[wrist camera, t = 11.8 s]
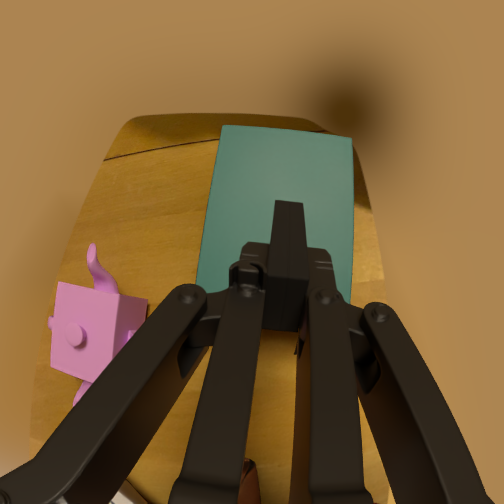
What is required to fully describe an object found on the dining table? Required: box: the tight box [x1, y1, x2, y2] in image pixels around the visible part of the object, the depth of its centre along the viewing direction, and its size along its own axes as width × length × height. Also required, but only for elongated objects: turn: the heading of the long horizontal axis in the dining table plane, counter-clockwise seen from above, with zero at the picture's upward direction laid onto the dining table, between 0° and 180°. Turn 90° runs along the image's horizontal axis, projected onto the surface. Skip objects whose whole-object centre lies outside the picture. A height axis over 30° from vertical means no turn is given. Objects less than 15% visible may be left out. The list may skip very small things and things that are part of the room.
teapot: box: [48, 243, 148, 407], centre depth 28 cm, size 18×13×10 cm
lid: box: [196, 125, 354, 304], centre depth 25 cm, size 16×13×1 cm
